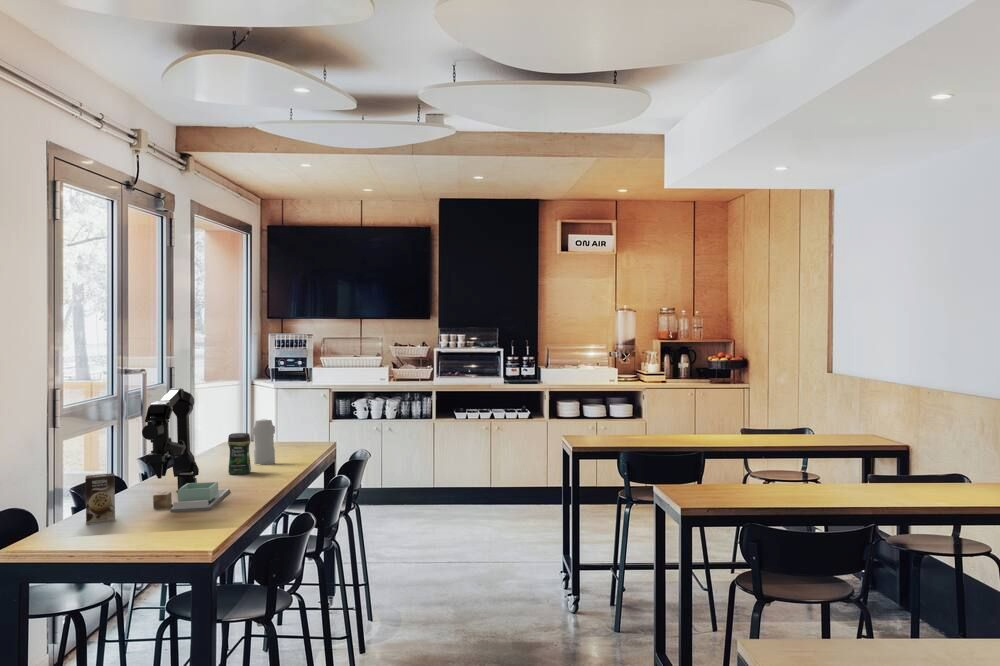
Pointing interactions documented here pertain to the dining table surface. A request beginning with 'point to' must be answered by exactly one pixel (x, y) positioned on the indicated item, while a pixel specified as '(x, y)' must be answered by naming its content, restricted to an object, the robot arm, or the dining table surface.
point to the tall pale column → (264, 442)
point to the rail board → (199, 503)
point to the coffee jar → (239, 453)
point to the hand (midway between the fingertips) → (161, 477)
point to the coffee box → (100, 498)
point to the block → (162, 500)
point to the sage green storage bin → (198, 491)
